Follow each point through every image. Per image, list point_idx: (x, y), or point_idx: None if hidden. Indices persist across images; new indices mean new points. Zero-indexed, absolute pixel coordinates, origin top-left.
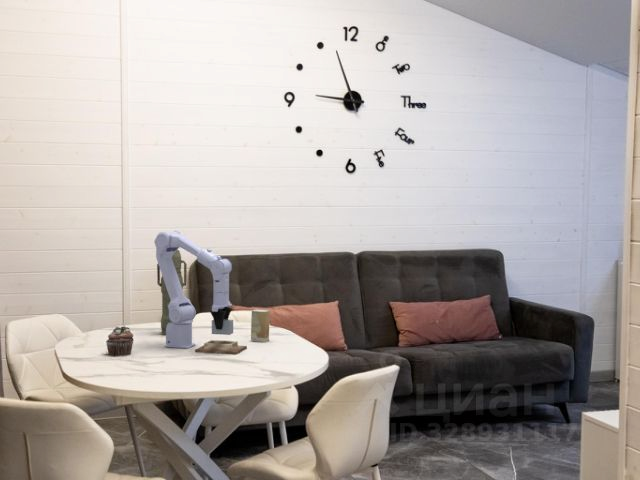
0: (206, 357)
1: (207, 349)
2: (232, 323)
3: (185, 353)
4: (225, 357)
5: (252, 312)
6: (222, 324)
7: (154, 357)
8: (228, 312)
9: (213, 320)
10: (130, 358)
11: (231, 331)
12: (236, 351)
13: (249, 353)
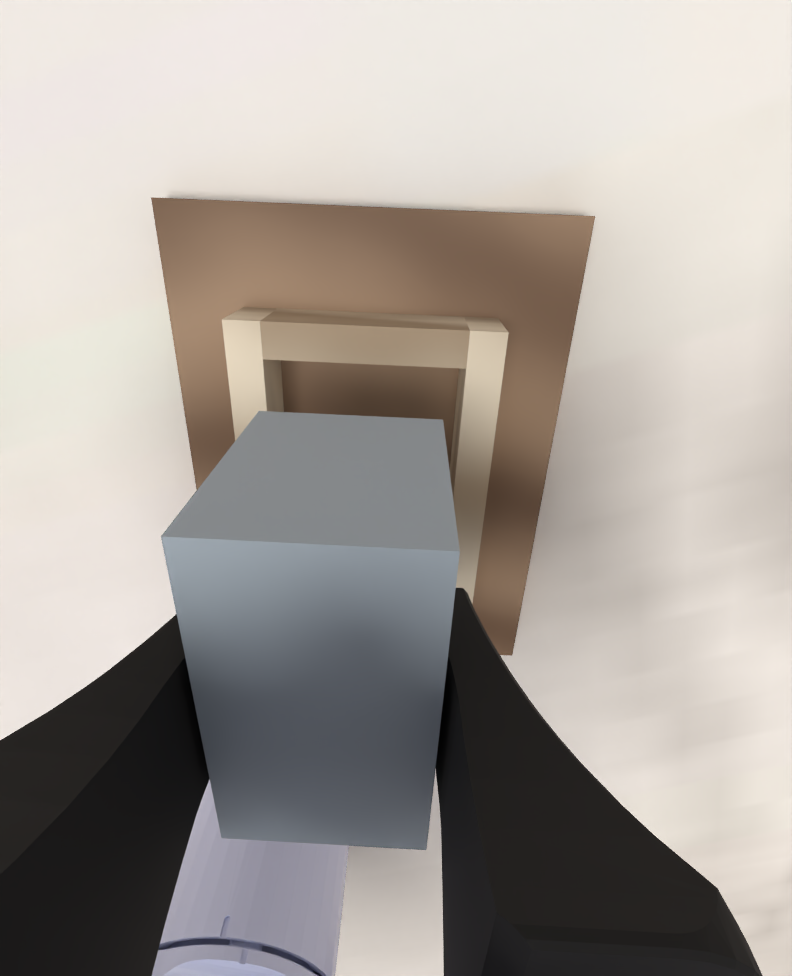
0: (754, 491)
1: (491, 566)
2: (248, 495)
3: (563, 683)
4: (771, 299)
5: None
6: (475, 637)
7: (728, 800)
8: (68, 822)
9: (406, 832)
10: (753, 881)
11: (345, 430)
12: (576, 221)
13: (484, 38)
